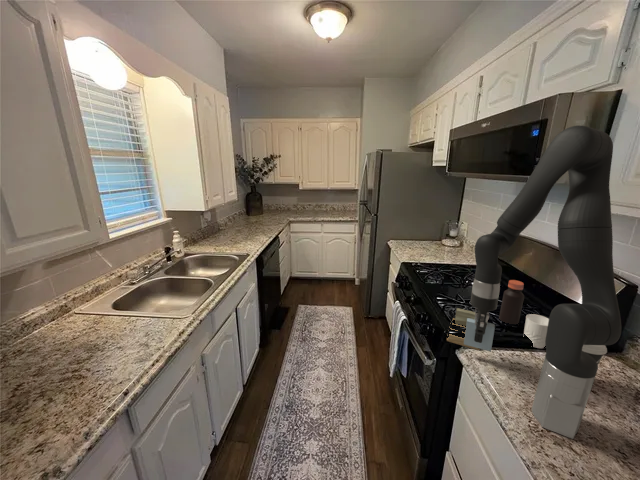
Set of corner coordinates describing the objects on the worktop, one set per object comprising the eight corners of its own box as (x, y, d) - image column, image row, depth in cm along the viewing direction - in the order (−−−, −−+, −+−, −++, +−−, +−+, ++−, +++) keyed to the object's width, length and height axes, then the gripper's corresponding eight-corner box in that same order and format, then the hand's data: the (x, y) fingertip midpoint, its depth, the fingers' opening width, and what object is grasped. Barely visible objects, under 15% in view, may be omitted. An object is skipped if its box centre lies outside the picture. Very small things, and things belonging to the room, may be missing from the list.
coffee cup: (563, 364, 88) (574, 325, 84) (601, 385, 80) (616, 343, 76) (546, 373, 85) (557, 332, 81) (584, 395, 76) (598, 352, 72)
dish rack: (479, 350, 95) (483, 330, 93) (446, 340, 101) (449, 321, 99) (480, 331, 107) (483, 312, 105) (450, 323, 113) (453, 305, 110)
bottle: (504, 320, 114) (513, 277, 109) (521, 328, 108) (531, 284, 103) (494, 323, 112) (502, 280, 107) (510, 332, 106) (519, 287, 101)
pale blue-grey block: (490, 351, 88) (494, 327, 86) (463, 344, 92) (467, 321, 89) (490, 347, 90) (494, 324, 88) (464, 340, 94) (467, 318, 91)
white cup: (538, 337, 103) (543, 314, 100) (553, 350, 95) (559, 326, 93) (516, 336, 104) (521, 313, 101) (530, 349, 96) (535, 325, 94)
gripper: (500, 304, 78) (491, 354, 82) (497, 287, 90) (489, 332, 94) (471, 298, 82) (464, 347, 86) (472, 283, 94) (466, 326, 98)
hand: (477, 339), depth 90 cm, fingers closed on pale blue-grey block, 2 cm apart
